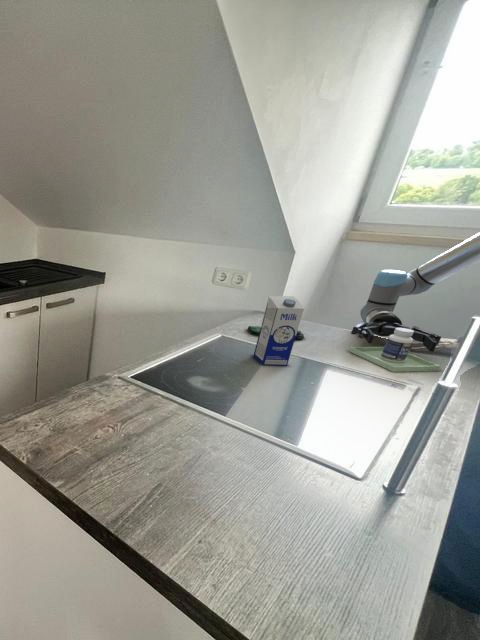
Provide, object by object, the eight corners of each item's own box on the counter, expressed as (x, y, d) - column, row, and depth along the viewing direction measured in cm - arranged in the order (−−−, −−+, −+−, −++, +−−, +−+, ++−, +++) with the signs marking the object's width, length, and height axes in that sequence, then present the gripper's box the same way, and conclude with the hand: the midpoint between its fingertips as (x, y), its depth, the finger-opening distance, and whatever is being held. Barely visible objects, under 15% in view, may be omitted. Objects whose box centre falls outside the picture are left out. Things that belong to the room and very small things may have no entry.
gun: (254, 334, 139) (247, 325, 147) (253, 337, 139) (246, 328, 148) (307, 338, 134) (298, 328, 142) (306, 342, 134) (297, 332, 143)
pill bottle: (398, 364, 115) (411, 333, 111) (376, 358, 120) (388, 328, 116) (407, 361, 117) (421, 330, 113) (385, 354, 122) (397, 325, 118)
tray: (439, 370, 112) (441, 366, 111) (392, 371, 112) (394, 367, 111) (390, 350, 126) (392, 346, 125) (349, 351, 126) (351, 347, 125)
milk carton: (276, 356, 124) (294, 295, 115) (287, 365, 117) (307, 301, 109) (252, 356, 125) (268, 295, 116) (262, 364, 119) (279, 301, 110)
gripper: (429, 339, 127) (455, 362, 110) (333, 327, 139) (343, 347, 122) (439, 317, 124) (467, 338, 107) (340, 307, 136) (351, 325, 119)
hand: (401, 343), depth 115 cm, fingers open, 13 cm apart
